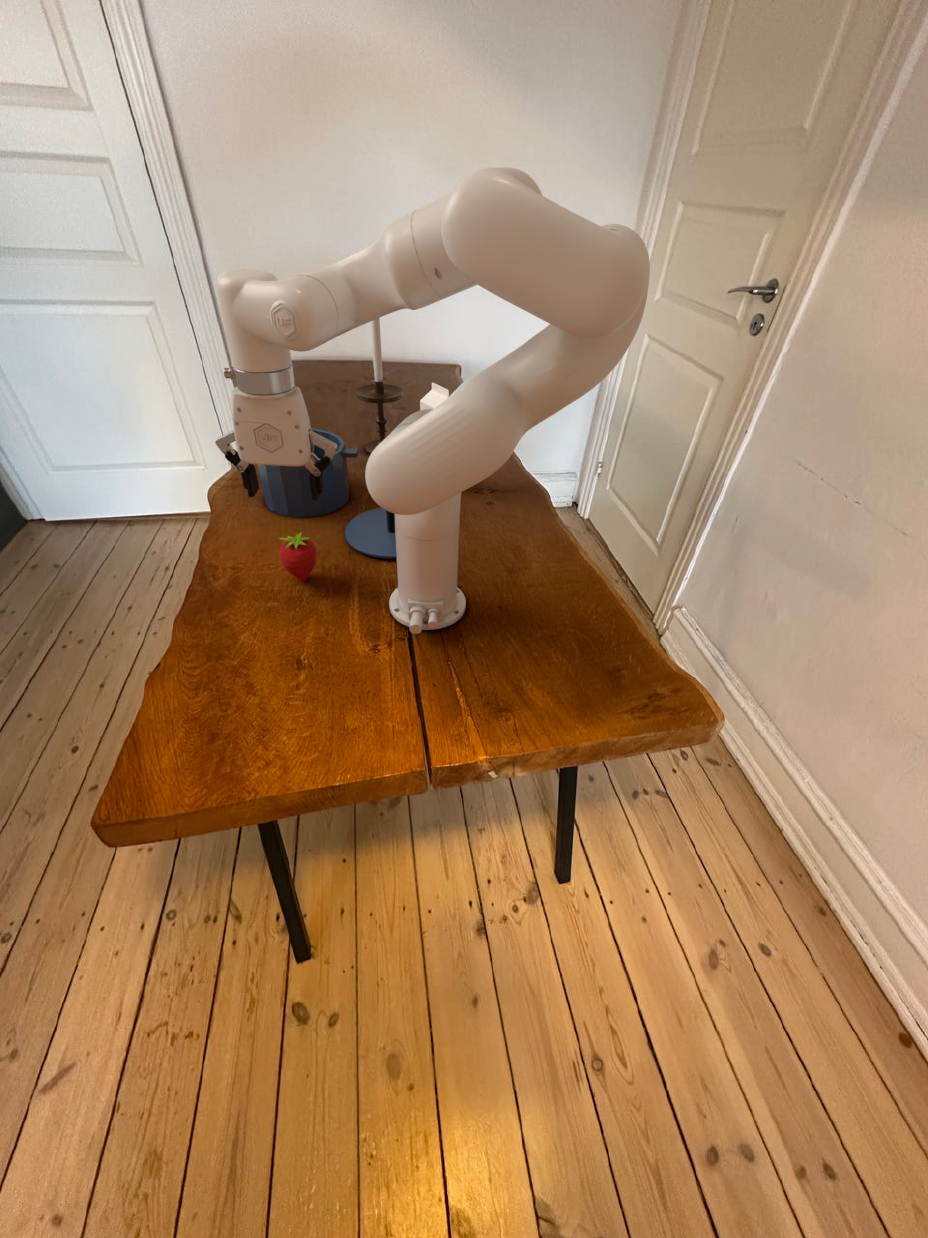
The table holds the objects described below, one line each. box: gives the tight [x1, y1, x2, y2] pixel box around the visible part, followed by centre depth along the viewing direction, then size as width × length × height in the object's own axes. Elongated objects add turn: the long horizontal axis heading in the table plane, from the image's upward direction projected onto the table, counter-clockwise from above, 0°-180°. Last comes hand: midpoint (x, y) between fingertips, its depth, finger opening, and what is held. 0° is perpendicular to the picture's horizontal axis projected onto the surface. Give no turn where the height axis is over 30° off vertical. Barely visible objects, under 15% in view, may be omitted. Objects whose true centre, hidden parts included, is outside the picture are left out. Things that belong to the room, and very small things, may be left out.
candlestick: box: [355, 317, 404, 456], centre depth 127 cm, size 11×11×35 cm
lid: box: [344, 507, 397, 559], centre depth 105 cm, size 19×19×7 cm
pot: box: [256, 428, 359, 518], centre depth 114 cm, size 18×23×12 cm
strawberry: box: [278, 528, 317, 582], centre depth 92 cm, size 6×8×10 cm
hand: (285, 494), depth 85 cm, fingers open, 9 cm apart
